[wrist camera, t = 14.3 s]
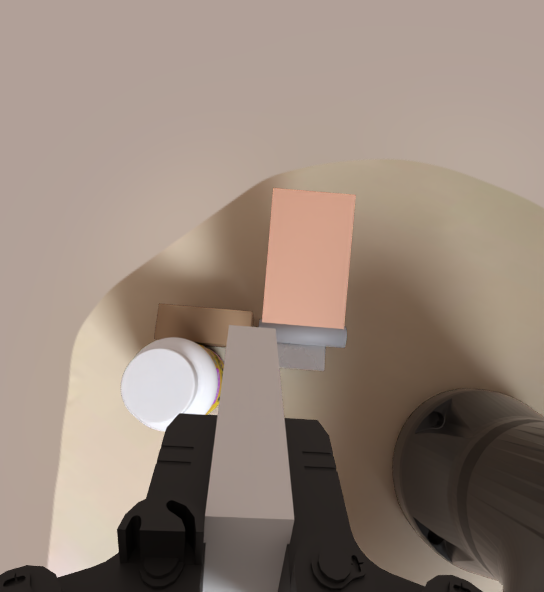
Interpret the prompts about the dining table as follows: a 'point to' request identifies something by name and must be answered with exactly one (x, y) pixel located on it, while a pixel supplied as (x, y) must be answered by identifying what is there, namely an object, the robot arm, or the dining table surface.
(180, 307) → the brown rectangular block
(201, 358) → the supplement bottle
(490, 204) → the dining table surface
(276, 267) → the flat salmon pink panel
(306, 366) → the post
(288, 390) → the dining table surface
